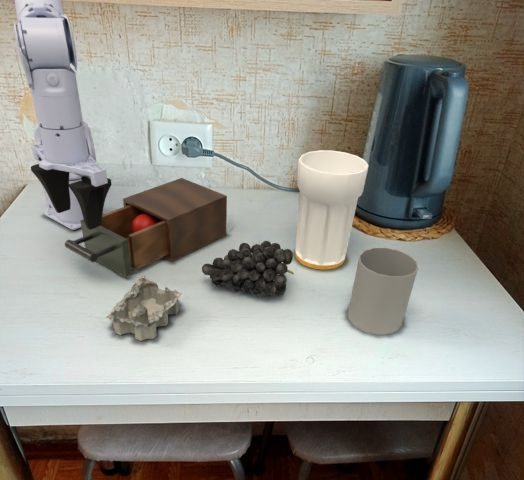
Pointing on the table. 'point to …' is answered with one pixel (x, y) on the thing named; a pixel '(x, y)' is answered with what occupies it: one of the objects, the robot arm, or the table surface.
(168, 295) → the egg carton
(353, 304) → the cup
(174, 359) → the table surface
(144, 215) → the apple
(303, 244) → the cup
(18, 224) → the table surface
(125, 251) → the drawer
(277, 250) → the fruit
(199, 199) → the cabinet
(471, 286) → the table surface
